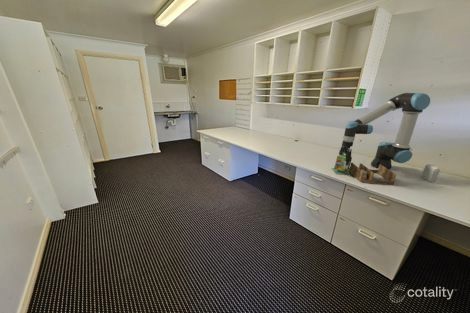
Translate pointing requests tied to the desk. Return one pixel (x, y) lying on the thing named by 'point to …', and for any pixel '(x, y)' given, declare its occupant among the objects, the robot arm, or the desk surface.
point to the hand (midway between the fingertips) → (342, 165)
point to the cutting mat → (340, 172)
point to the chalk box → (341, 162)
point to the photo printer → (430, 173)
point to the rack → (381, 171)
